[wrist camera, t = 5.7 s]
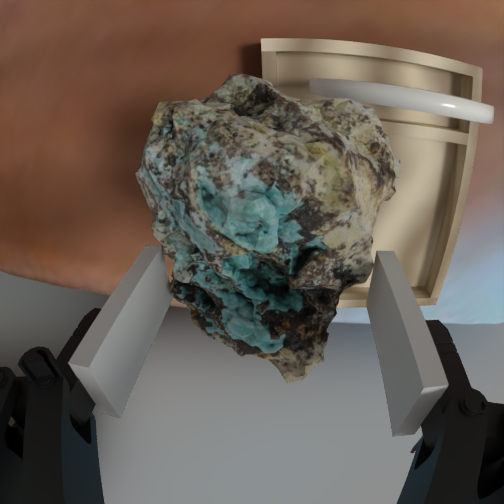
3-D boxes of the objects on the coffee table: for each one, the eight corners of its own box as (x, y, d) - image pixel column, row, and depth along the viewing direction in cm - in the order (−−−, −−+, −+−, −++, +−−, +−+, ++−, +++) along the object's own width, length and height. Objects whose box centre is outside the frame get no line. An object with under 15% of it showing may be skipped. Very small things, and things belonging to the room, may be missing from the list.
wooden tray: (269, 288, 34) (268, 307, 32) (263, 42, 22) (260, 38, 19) (426, 287, 32) (435, 304, 30) (465, 66, 20) (482, 68, 17)
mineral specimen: (177, 63, 11) (52, 194, 6) (411, 91, 10) (485, 257, 5) (203, 253, 21) (164, 371, 16) (346, 275, 20) (339, 401, 15)
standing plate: (302, 89, 22) (321, 102, 12) (302, 77, 22) (321, 79, 12) (441, 103, 21) (529, 136, 11) (441, 92, 21) (531, 119, 11)
